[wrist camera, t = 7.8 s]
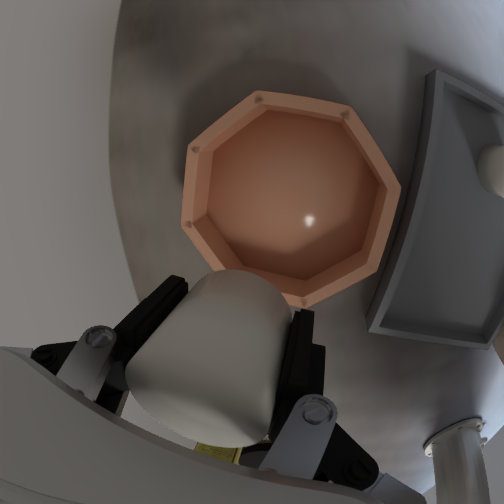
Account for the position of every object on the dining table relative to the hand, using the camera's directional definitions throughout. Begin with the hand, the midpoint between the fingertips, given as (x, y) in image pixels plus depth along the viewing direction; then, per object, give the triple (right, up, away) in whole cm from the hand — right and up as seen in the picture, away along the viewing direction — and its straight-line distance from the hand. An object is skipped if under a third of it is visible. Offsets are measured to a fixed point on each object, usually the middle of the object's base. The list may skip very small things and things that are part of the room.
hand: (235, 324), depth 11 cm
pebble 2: (+23, +11, +5) cm, 25 cm away
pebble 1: (0, 0, 0) cm, 0 cm away
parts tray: (+22, +5, +8) cm, 24 cm away
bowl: (+4, +8, +12) cm, 15 cm away
